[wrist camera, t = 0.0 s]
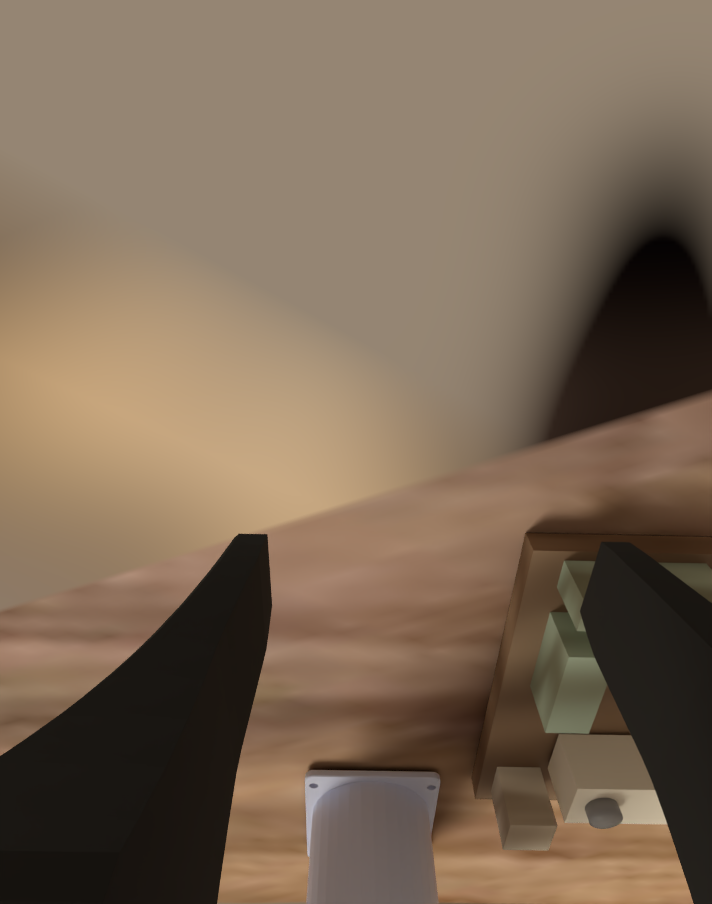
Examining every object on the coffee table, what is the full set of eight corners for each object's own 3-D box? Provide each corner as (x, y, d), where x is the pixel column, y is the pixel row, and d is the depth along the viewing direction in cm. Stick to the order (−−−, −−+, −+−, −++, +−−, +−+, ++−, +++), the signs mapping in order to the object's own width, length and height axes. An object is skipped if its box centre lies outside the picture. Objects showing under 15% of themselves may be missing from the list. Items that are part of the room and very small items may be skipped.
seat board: (782, 783, 33) (835, 862, 30) (471, 778, 33) (485, 857, 29) (952, 542, 24) (1058, 612, 21) (525, 533, 24) (556, 602, 20)
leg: (547, 767, 30) (568, 835, 27) (558, 734, 29) (582, 801, 26) (772, 771, 30) (817, 839, 27) (794, 738, 29) (845, 805, 26)
